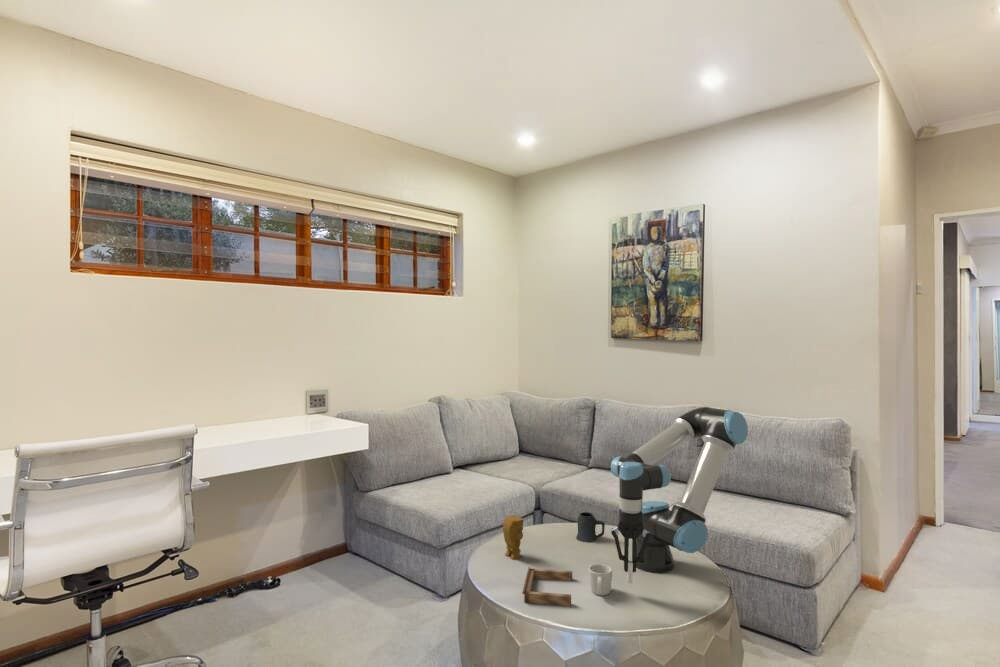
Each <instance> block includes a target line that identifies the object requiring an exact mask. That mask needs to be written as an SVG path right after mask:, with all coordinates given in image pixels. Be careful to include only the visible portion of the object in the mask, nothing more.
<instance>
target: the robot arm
mask: <svg viewBox="0 0 1000 667" xmlns="http://www.w3.org/2000/svg"><path fill="white" fill-rule="evenodd" d="M747 422H748V421H747V420H746V418H745V417H744V415H743V414H742V413H741V412H739V411H736V410H735V411H734V410H730V409H722V408H715V407H714V408H713V407H709V406H708V407H707V406H704V407H703V406H701V407H697V408H694V409H692V410H690V411H688V412H685V413H683V414H682V415H680V416H679V417H677V418H676V419H675V420H674V421H673V424H671V426H669V427H667V428H666V429H664V430H663V431H662V432H660V433H658V434H657V435H656V436H654V437H652V439H649V441H647V442H645V444H642V446H639V447H638V448H637V449H636V450H634V451H633V452H631V453H629V454H628V455H627V456H625V457H624V456H616V457H614V458H613V459H612V461H611V462H610V463H611V464H610V472H611V473H612V475H613V476H615V477H617V478H618V480H619V482H618V483H619V484H618V486H619V497H618V498H619V499H618V500H619V501H618V505H619V506H618V507H619V510H618V513H619V514H618V524H617V526H616V527H615V528H611V529H610V534H611V535H612V537H613V538H614V543H615V546H616V547H615V548H616V552H617V555H618V556H617V557H618V559H619V560H620V561H622V562H623V571H624V572H625V573H627V577H626V579H627V584H633V582H634V581H633V580H634V578H633V575H634V573H637V569H638V570H640V571H644V572H647V573H655V574H663V573H667V572H671V571H672V570H673V569H674V567H675V559H674V556H673V553H672V550H671V548H670V547H672V548H674V549H676V550H678V551H680V552H685V553H687V554H694V553H696V552H698V551H700V550H701V549H702V548H704V545H705V544H706V542H707V539H708V536H709V533H708V527H707V525H706V524H705V523H706V520H707V518H706V516H705V515H704V514H705V511H706V508H707V506H708V503H709V500H710V498H711V496H712V493H713V490H714V489H715V485H716V482H717V481H718V478H719V476H720V473H721V471H722V468H723V465H724V463H725V460H726V458H727V455H728V454H729V453H732V452H733V451H734V450H735V447H736V445H741V444H743V443H745V441H746V440H747V436H748V434H749V433H748V432H749V430H748V429H749V428H748V423H747ZM696 438H701V439H702V442H703V445H702V447H701V449H700V452H699V455H698V457H697V460H696V462H695V465H694V467H693V468H692V472H691V475H690V476H689V479H688V481H687V484H686V486H685V488H684V491H683V494H682V495H681V498H680V501H679V502H677V503H674V504H673V506H672V508H671V510H670V505H669V503H668V502H666V501H661V500H649V501H643V498H644V497H643V494H644V491H649V490H655V489H662V488H665V487H668V486H669V485H670V483H671V480H672V474H671V472H670V469H669V468H668V467H667V466H666V465H664V464H656V465H655V463H657V462H658V461H660V460H661V459H662V458H664V457H665V456H667V455H669V454H670V453H671V452H672V451H674V450H675V449H676V448H678V447H679V446H680V445H682V444H683V443H685V442H690V441H691V442H692V440H694V439H696ZM619 532H620V534H621V535H622V537H623V540H624V542H623V543H624V544H623V548H624V549H623V554H622V548H621V543H620V541H619V540H620V539H619V537H618V535H619ZM630 539H631V559H629V548H630V547H629V545H630Z"/></svg>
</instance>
